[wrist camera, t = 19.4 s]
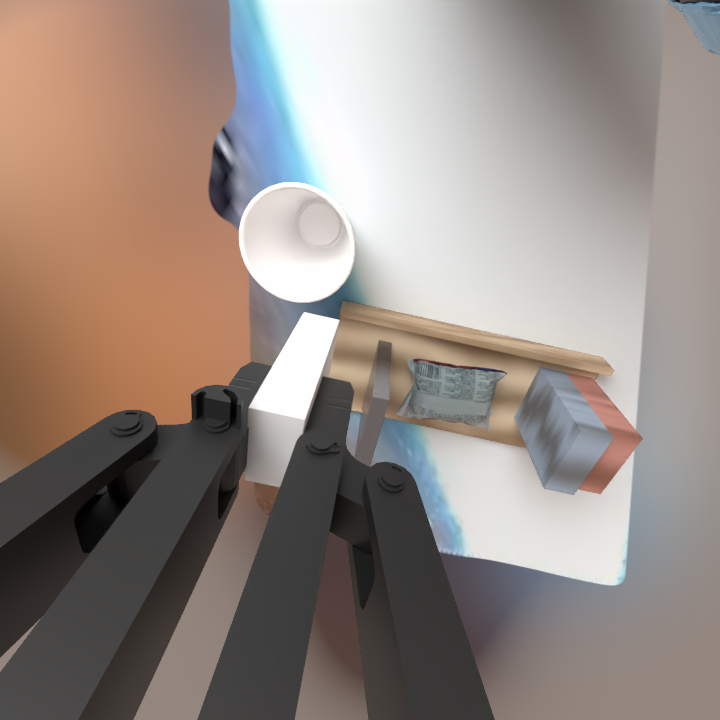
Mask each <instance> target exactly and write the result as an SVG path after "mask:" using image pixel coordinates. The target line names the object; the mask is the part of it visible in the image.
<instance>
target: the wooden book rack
mask: <svg viewBox="0 0 720 720" xmlns="http://www.w3.org/2000/svg"><path fill="white" fill-rule="evenodd" d="M339 316H340V319H339V325H338V331H337V336H336V342H335V347H334V352H333V358H332V363H331V368H330V374H329V378H333V379H338V380H342V381H347V382H350V383H351V385H352V387H353V389H354V397H353V403H352V408H351V410H353V411H358V412H362V405H363V401H364V397H365V393H366V389H367V385H368V381H369V377H370V373H371V369H372V365H373V361H374V357H375V353H376V349H377V345H378V341H379V340H381V341H386V342H390V343H392V346H391V370H390V395H389V403H388V406H387V410H386V413H385V418H390V419H395V420H399V421H404V422H408V423H413V424H418V425H422V426H427V427H432V428H436V429H441V430H446V431H450V432H455V433H459V434H464V435H469V436H473V437H478V438H483V439H487V440H492V441H496V442H501V443H506V444H510V445H515V446H520V447H524V448H527V450H528V452H529V454H530V457H531V459H532V461H533V464H534V466H535V468H536V471H537V473H538V476H539V478H540V480H541V483H542V485H543V487H544V489H548V490H553V491H558V492H562V493H567V494H572V495H574V494H575V492H576V491H577V489H579V490H584V491H589V492H593V493H598V494H601V493H602V491H603V490H604V489H605V488H606V486H607V485H608V484H609V482H610V481H611V480H612V478H613V477H614V476H615V474H616V473H617V472H618V470H619V469H620V468H621V466H622V465H623V464H624V463H625V461H626V460H627V459H628V457H629V456H630V455H631V453H632V452H633V451H634V449H635V448H636V447H637V445H638V444H639V443H640V442H641V440H642V437H641V436H640V435H639V434H638V432H637V431H636V430H635V429H634V428H633V426H632V425H631V424H630V423H629V422H628V420H627V419H626V418H625V417H624V416H623V414H622V413H621V412H620V411H619V410H618V408H617V407H616V406H615V405H614V404H613V402H612V401H611V400H610V399H609V398H608V396H607V395H606V394H605V393H604V392H603V390H602V389H601V388H600V387H599V386H598V384H597V383H596V382H595V379H596V377H597V376H598V374H604V375H608V376H611V375H612V373H613V372H614V369H613V368H612V367H611V366H610V365H609V364H608V363H607V362H606V361H605V360H604V359H603V358H602V357H598V356H593V355H589V354H584V353H580V352H575V351H570V350H566V349H561V348H557V347H552V346H548V345H543V344H539V343H534V342H530V341H525V340H521V339H516V338H512V337H507V336H503V335H498V334H494V333H489V332H485V331H480V330H476V329H471V328H466V327H462V326H457V325H453V324H448V323H444V322H439V321H435V320H430V319H426V318H421V317H417V316H412V315H408V314H403V313H399V312H394V311H390V310H385V309H381V308H376V307H372V306H367V305H363V304H358V303H353V302H349V301H343V303H342V306H341V309H340V313H339ZM408 359H426V360H431V361H432V360H433V361H436V362H442V363H449V364H453V365H456V366H460V365H461V366H469V367H470V366H471V367H483V368H491V369H496V370H502V371H504V372H506V373H507V375H506V376H504V377H503V378H502V379H501V380H499V381H498V382H497V383H496V387H495V393H494V397H493V400H492V411H493V414H492V416H490V417H489V421H490V422H489V431H487V429H485V428H481V427H475V426H471V425H467V424H464V423H462V422H458V423H452V422H446V421H443V420H428V419H424V420H419V419H416V418H415V417H411V418H403V417H400V416H398V415H397V414H396V410H398V407H400V406H401V404H402V402H403V401H404V399H405V398H406V396H407V394H408V393H409V391H410V389H411V388H412V386H413V383H414V381H415V380H414V377H413V375H412V373H411V371H410V369H409V367H408V364H407V360H408ZM489 415H490V414H489Z"/></svg>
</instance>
